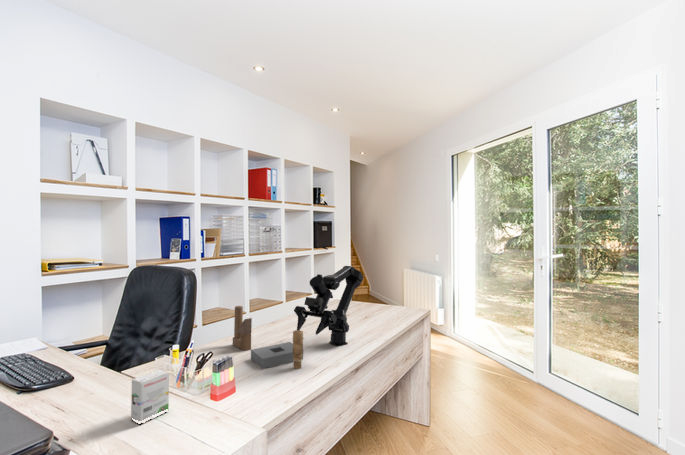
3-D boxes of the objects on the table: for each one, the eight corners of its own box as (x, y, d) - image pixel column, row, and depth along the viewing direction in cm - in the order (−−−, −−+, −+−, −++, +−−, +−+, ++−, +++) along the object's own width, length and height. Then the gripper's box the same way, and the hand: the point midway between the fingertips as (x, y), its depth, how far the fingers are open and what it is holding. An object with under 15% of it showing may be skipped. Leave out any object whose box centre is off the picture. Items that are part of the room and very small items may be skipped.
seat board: (289, 350, 154) (289, 341, 154) (303, 359, 144) (303, 349, 144) (250, 359, 143) (250, 349, 143) (262, 369, 134) (262, 358, 134)
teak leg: (299, 364, 139) (300, 329, 139) (304, 368, 136) (305, 332, 136) (290, 366, 136) (291, 331, 136) (295, 370, 133) (296, 334, 133)
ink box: (159, 407, 104) (160, 368, 104) (169, 412, 102) (170, 372, 102) (130, 420, 97) (130, 378, 97) (140, 426, 94) (140, 383, 94)
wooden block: (244, 351, 152) (244, 310, 152) (232, 345, 160) (232, 306, 160) (251, 349, 155) (252, 309, 155) (239, 343, 162) (240, 305, 162)
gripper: (296, 287, 150) (280, 318, 141) (333, 291, 142) (318, 325, 132) (306, 302, 157) (291, 332, 148) (342, 307, 148) (328, 340, 139)
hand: (306, 332), depth 141 cm, fingers open, 9 cm apart
